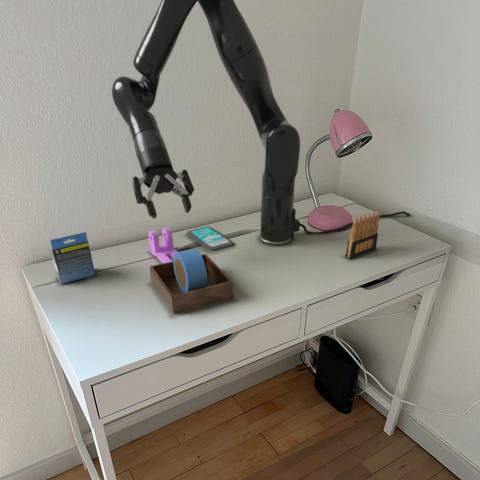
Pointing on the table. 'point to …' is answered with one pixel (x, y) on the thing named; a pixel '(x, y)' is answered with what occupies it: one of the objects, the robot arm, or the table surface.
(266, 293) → the table surface
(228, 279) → the wooden box
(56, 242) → the blue retail box
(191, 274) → the tape roll
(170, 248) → the bracket
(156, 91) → the robot arm
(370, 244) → the ammunition clip
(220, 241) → the smartphone
